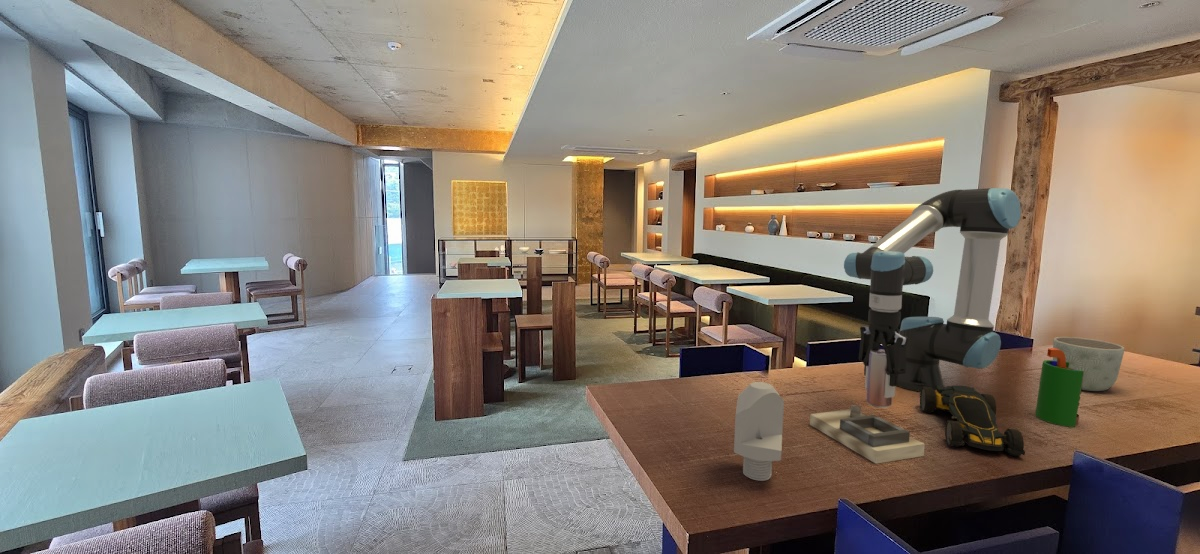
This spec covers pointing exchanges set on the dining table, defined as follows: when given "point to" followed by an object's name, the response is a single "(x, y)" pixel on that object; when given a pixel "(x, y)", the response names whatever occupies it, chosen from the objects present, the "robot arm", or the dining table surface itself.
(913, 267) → the robot arm
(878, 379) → the beverage can
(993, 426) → the toy car
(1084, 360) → the planter
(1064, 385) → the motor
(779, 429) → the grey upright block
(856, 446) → the board
